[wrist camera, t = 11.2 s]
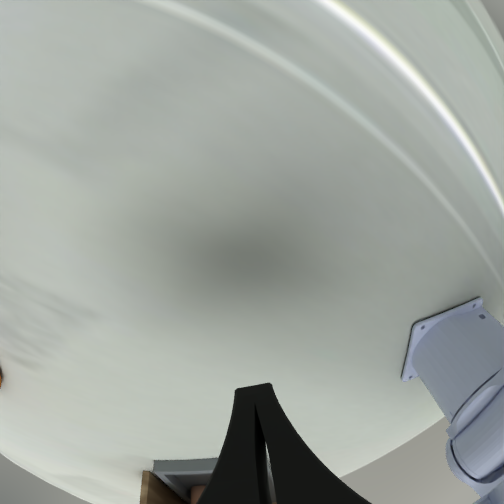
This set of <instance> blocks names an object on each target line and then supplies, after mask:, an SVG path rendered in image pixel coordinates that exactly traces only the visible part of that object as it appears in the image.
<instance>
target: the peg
mask: <svg viewBox="0 0 504 504" xmlns="http://www.w3.org/2000/svg"><path fill="white" fill-rule="evenodd" d="M205 487H206V486H205V485H199V486H192V487H191V504H196V502H197V501H198V499H199V497H200V496H201V494H202V492H203V490H204V488H205Z"/></svg>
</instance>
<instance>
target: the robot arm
mask: <svg viewBox="0 0 504 504" xmlns="http://www.w3.org/2000/svg"><path fill="white" fill-rule="evenodd" d="M482 304H483V299H482V298H481V297H479V298H477V299H475V300H473V301H470V302H468V303H466V304H463V305H461V306H459V307H456V308H454V309H451V310H449V311H447V312H444V313H442V314H439V315H436V316H434V317H431V318H429V319H426V320H423V321H421V322H418V323H416V324H415V325H414V326H413V328H412V333H411V338H410V343H409V348H408V353H407V357H406V362H405V366H404V370H403V374H402V378H401V379H402V381H403V382H406V381H408V380H411V379H413V378H416V377H418V376H419V377H420V378H421V380H422V381H423V383H424V384H425V386H426V387H427V389H428V390H429V392H430V393H431V395H432V396H433V398H434V399H435V401H436V402H437V404H438V406H439V407H440V409H441V410H442V412H443V413H444V415H445V416H446V418H447V420H448V421H449V423H450V424H451V425H450V426H449V427H448V428H447V429H446V432H447V433H448V435H449V437H450V438H449V439H448V441H447V443H446V459H447V462H448V465H449V467H450V469H451V471H452V472H453V474H454V475H455V476H456V477H457V478H458V479H459V480H461V481H462V482H464V483H466V484H468V485H469V486H470V487H472V488H473V489H474V490H475V491H476V492H477V494H479V496H480V497H481V498H480V499H479V500H477V501H476V502H475V503H473V504H504V326H503V325H502V324H500V323H499V322H498V321H497V320H496V319H495V318H494V317H493V316H492V315H491V314H490V313H489V312H487V311H486V310H485V309H484V308H483V307H482ZM265 441H266V442H265ZM266 444H267V449H268V453H269V458H270V464H271V471H272V477H273V483H274V490H275V496H276V503H277V504H371V503H370V502H368V501H367V500H365V499H364V498H363V497H361V496H360V495H358V494H357V493H356V492H355V491H353V490H352V489H351V488H349V487H348V486H347V485H346V484H345V483H343V482H342V481H341V480H340V479H339V478H338V477H337V476H336V475H334V474H333V473H332V472H331V471H330V470H329V469H328V468H327V467H326V466H325V465H324V464H323V463H322V462H321V461H320V460H319V459H318V458H317V456H316V455H315V454H314V453H313V452H312V451H311V450H310V448H309V447H308V446H307V445H306V444H305V442H304V441H303V440H302V438H301V437H300V436H299V434H298V433H297V432H296V430H295V429H294V427H293V426H292V424H291V423H290V421H289V419H288V418H287V416H286V415H285V413H284V411H283V409H282V408H281V406H280V404H279V402H278V400H277V398H276V395H275V393H274V390H273V387H272V384H271V383H264V384H259V385H254V386H249V387H243V388H237V389H236V390H235V396H234V404H233V410H232V415H231V419H230V423H229V427H228V431H227V435H226V438H225V441H224V444H223V447H222V450H221V453H220V456H219V458H218V461H217V463H216V466H215V468H214V470H213V472H212V475H211V477H210V479H209V481H208V483H207V485H206V487H205V488H204V490H203V492H202V494H201V496H200V497H199V499H198V501H197V502H196V504H272V500H271V495H270V489H269V481H268V468H267V455H266Z"/></svg>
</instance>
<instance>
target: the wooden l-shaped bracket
mask: <svg viewBox="0 0 504 504" xmlns="http://www.w3.org/2000/svg"><path fill="white" fill-rule="evenodd" d="M140 504H189V503H187V502H185V501H184V500H182V499H181V498H180V497H179V496H177V495H176V494H175V493H174V492H172V491H171V490H170V489H169V488H168V487H167V486H165V485H164V484H163V483H162V482H161V481H160V480H158V479H157V478H156V477H155V476H154V475H153V474H152V473H151V472H150V471H143V475H142V485H141V495H140ZM272 504H277V503H276V502H273V503H272Z"/></svg>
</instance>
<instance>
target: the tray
mask: <svg viewBox="0 0 504 504" xmlns="http://www.w3.org/2000/svg"><path fill="white" fill-rule="evenodd" d="M217 461H218V458H210V459H195V460H154V467H153V472H154V473H155V474H156V475H157V476H158V477H159V478H160V479H162V480H163V481H164V482H165V483H166V484H167V485H168V486H169V487H170V488H171V489H172V490H173V491H175V492H176V493H177V494H178V495H179V496H180V497H181V498H183V499H184V500H185V501H186V502H187V503H189V504H191V487H192V486H199V485H205V486H206V485H207V483H208V481H209V479H210V477H211V475H212V472H213V470H214V468H215V466H216V463H217ZM267 468H268V481H269V489H270V495H271V500H272V503H273V502H276V496H275V490H274V483H273V477H272V474H271V471H270V467H269V464H268V460H267Z"/></svg>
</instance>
